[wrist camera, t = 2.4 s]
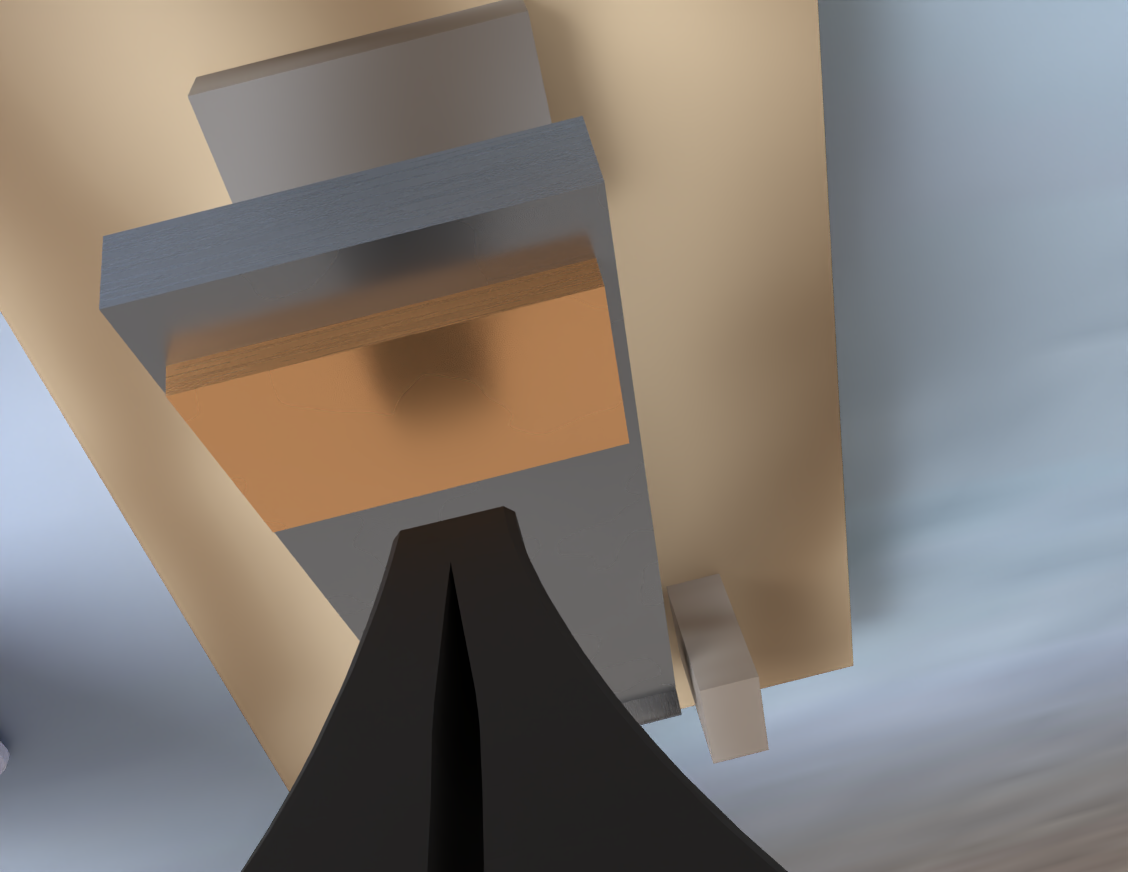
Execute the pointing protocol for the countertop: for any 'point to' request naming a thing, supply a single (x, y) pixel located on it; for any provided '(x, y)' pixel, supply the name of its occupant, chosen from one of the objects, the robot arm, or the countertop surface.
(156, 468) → the latch board
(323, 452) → the latch bar
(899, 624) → the countertop surface
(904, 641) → the countertop surface
